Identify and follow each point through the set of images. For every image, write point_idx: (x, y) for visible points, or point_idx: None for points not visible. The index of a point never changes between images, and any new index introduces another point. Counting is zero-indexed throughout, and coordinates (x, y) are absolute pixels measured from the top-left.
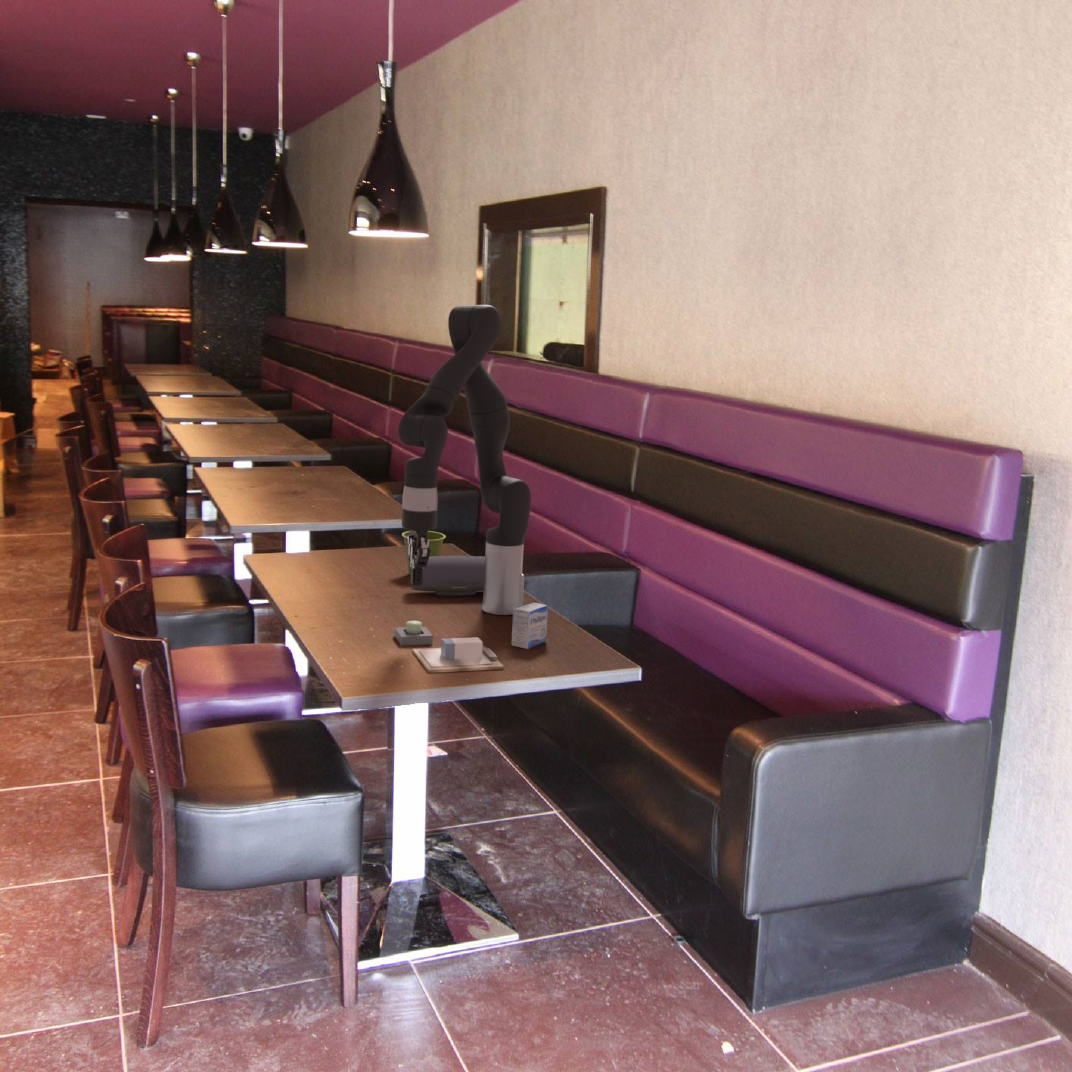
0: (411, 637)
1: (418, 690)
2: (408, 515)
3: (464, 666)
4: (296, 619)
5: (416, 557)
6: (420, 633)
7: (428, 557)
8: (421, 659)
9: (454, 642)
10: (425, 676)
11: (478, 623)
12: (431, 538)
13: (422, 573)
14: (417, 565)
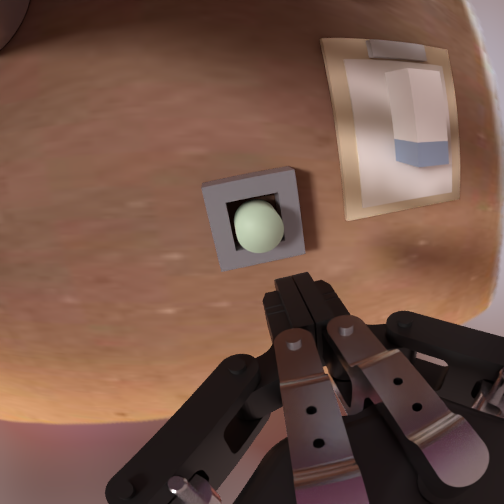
0: (301, 227)
1: (500, 221)
2: None
3: (451, 125)
4: (140, 414)
5: (444, 397)
6: (266, 202)
7: (498, 339)
8: (412, 206)
9: (442, 140)
10: (466, 204)
11: (83, 43)
12: None
13: (324, 301)
14: (417, 359)
